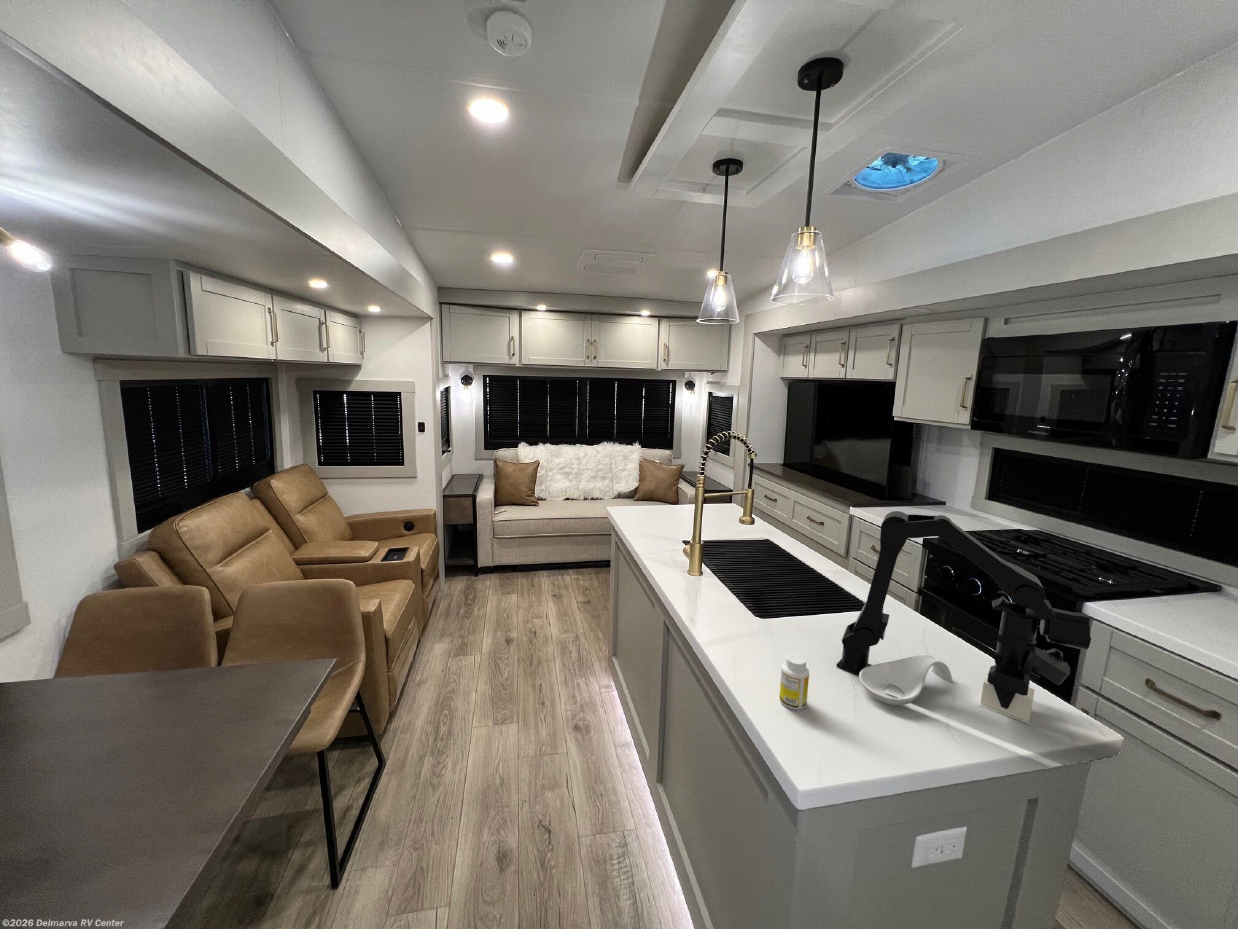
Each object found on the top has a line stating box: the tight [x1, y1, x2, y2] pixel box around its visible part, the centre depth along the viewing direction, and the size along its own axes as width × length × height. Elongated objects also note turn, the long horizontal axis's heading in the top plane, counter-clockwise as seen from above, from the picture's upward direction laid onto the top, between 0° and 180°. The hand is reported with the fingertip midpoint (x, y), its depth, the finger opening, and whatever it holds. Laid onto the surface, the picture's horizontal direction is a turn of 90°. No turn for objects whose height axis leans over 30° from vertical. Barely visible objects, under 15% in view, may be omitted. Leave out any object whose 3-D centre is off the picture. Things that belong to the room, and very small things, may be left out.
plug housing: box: [980, 672, 1036, 722], centre depth 101 cm, size 4×8×5 cm, turn 46°
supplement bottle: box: [779, 653, 810, 711], centre depth 103 cm, size 6×6×10 cm
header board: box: [979, 702, 1030, 725], centre depth 104 cm, size 14×8×5 cm, turn 137°
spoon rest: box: [858, 653, 953, 706], centre depth 108 cm, size 24×12×7 cm, turn 112°
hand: (1005, 702), depth 101 cm, fingers open, 5 cm apart
